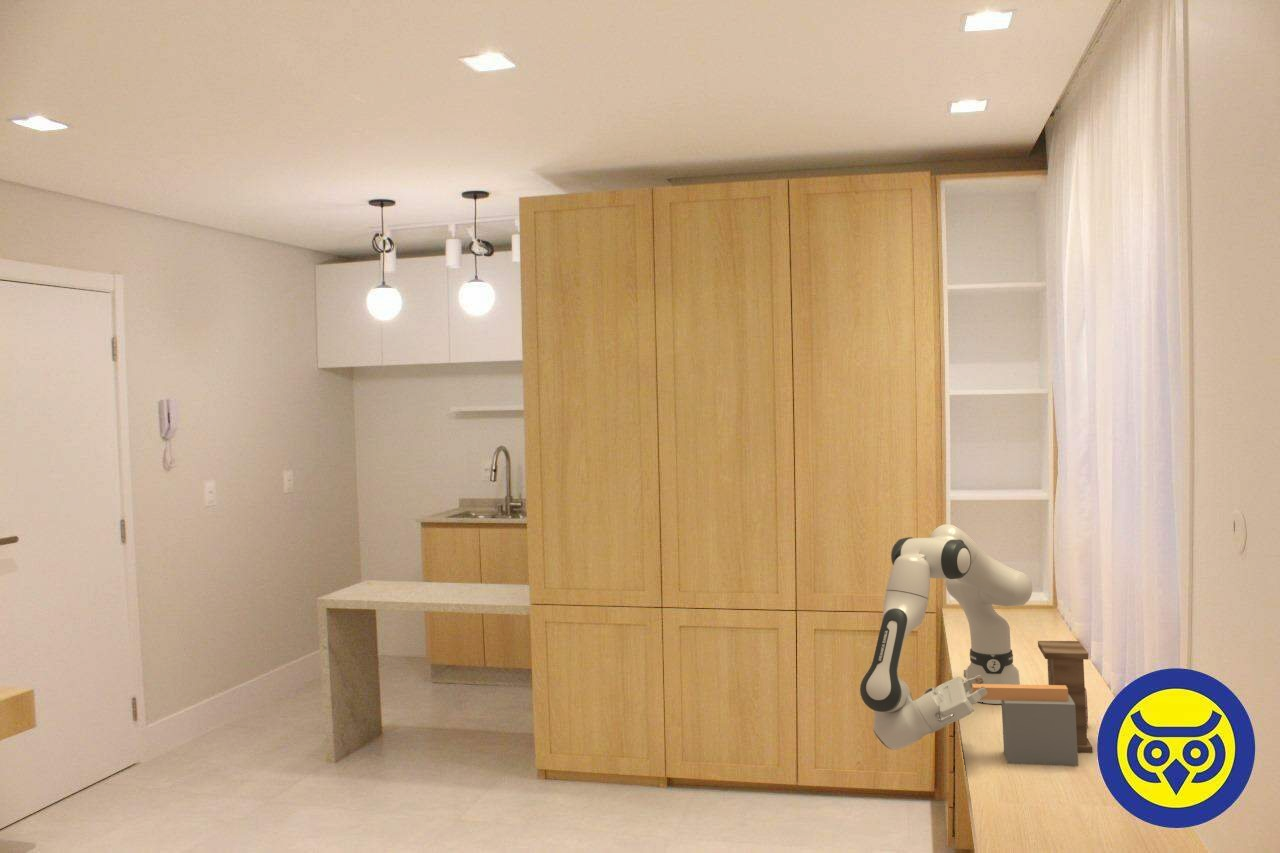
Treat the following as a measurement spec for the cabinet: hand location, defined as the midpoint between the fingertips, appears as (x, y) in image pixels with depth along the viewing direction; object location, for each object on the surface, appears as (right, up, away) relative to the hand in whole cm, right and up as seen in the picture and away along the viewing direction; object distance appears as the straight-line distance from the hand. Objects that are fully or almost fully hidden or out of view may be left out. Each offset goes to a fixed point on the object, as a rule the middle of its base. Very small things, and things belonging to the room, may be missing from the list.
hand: (983, 684), depth 242 cm
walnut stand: (+23, -17, +6) cm, 30 cm away
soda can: (+30, -16, +18) cm, 39 cm away
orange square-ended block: (+8, -3, -2) cm, 9 cm away
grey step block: (+13, -18, -2) cm, 22 cm away
